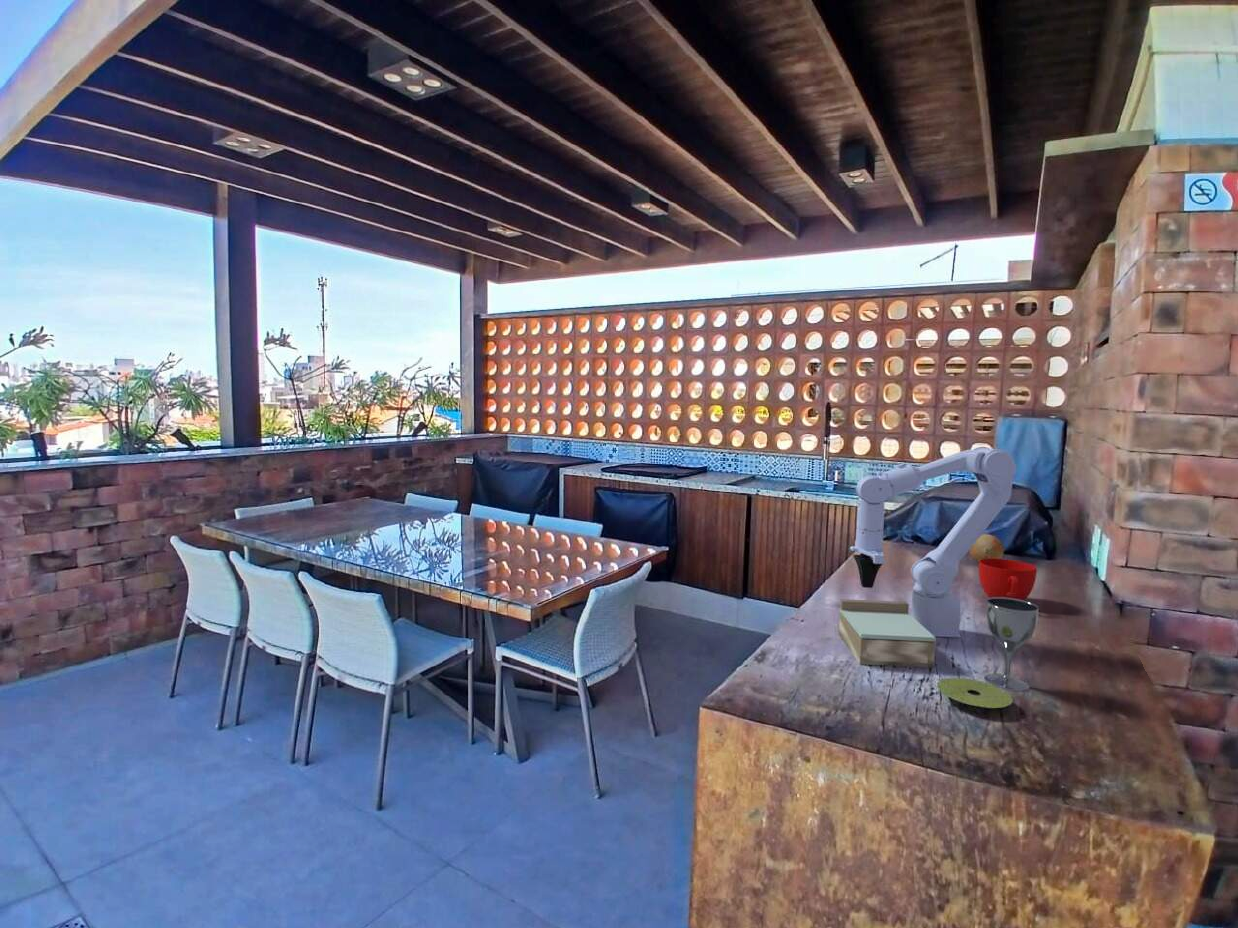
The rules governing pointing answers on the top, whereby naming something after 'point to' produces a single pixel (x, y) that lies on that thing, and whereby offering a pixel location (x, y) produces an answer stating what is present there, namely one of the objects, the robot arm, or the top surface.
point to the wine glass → (1010, 634)
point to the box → (887, 649)
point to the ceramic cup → (1006, 578)
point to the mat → (974, 692)
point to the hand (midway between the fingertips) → (866, 586)
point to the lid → (883, 620)
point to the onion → (986, 548)
